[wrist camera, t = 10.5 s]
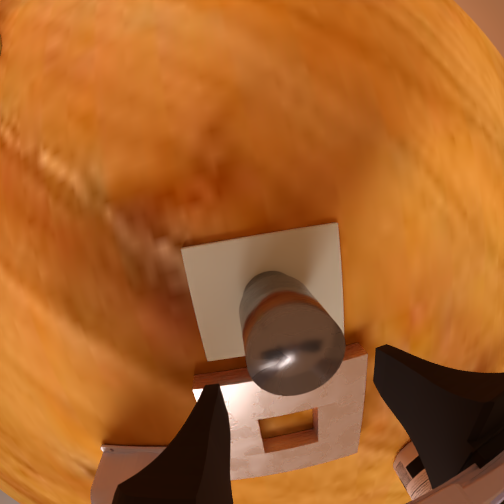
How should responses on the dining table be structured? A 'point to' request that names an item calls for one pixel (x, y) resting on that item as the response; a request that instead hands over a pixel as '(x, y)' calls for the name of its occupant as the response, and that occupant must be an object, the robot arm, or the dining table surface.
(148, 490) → the robot arm
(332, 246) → the pad
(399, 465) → the supplement can
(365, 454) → the dining table surface
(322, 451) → the housing plate
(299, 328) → the grey metal cylinder
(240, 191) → the dining table surface
